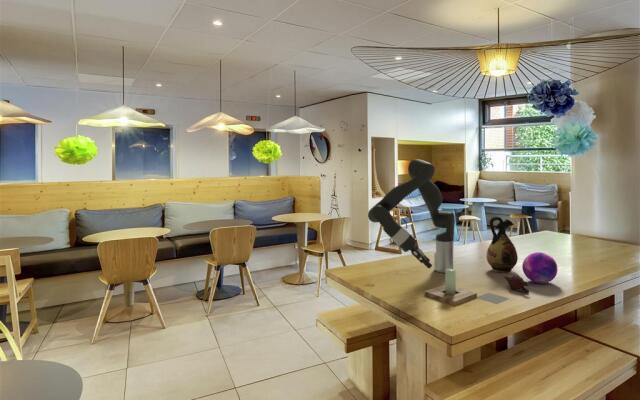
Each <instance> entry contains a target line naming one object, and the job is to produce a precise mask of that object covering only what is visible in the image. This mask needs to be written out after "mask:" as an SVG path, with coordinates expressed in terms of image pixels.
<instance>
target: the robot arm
mask: <svg viewBox="0 0 640 400" xmlns="http://www.w3.org/2000/svg"><path fill="white" fill-rule="evenodd" d="M407 168H408V169H407V170H408V171H407V172H408V174H409V177H410V178H411V179H410V180H408V181H406V182H404V183H401V184H399V185H397V186H395V187H393V188H391V190H389V192H387V193H386V194H385V195H384V196H383V198H382V199H381V200H379V201H378V202H377V203H376V204H375V205H373V207H371V208H370V209H369V211H368V212H367V218H368V220H369V221H370V222H372V223H374V224H375V223H379V224H380V225H381V226H382V230H383V232H384V233H385V234H386V235H387V236H388V237H389V238H390V239H391V240H392V241H393V242H394V243H395V244H396V245H397V246H398V247H399V249H401V250H402V251H403V252H404V253H407V252H409V251H410V254H411V255H412V256H413V257H415V258H416V260H418V262H420V264H423V265H424V266H425V267H426V268H427V269H431V268H432V267H433V265H434V267H433V268H434V269H433V270H435V272H439V273H444V274H445V270H446V269H454V240H455V239H454V237H455V225H456V224H455V223H456V221H455V220H456V217H455V214H454V212H453V211H445V210H444V211H443V210H439V209H440V207H441V205H442V204H443V195H442V193H441V191H440V189H439V187H438V186H437V185H436V184H435V183H434V182H433V181H432V180H431V179H432V178H433V176H434V174H435V166H434V165H433V164H432V163H430V162H428V161H425V160H422V159H419V158H418V159H417V158H416V159H415V158H414V159H412V160H411V161H410V162H409V163H408V167H407ZM416 190H418V192H419V193H420V195H421V198H422V200H423V202H424V203H425V205H426V208H427V210H428V212H429V215H430V218H431V221H432V224H433V225H434V227H436V228H441V229H445V231H444V232H442V233H438V234H436V236H435V253H434V254H433V255H434V262H433V263H434V264H432V263H431V262H430V261H431V259H430V258H429V257H427V255H425V253H424V252H423V250H422V249H421V248H420V247H419V246H418V245H417V244H416V243H417V239H416V238H415V237H414V236H413V235H411V234H410V233H409V231H408V230H407V229H406V228H404V227H403V226H401V225H400V224H399V223H398V221H396V220H395V218H394V217H393V216H392V214H391V213H390V211H392V210H393V209H395V208H396V207H397V206H398V205H399V204H400V203H401V202H403V200H404V199H405V198H406V197H407V196H409V195H410V194H412V193H413V192H415V191H416Z"/></svg>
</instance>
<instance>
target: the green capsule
mask: <svg viewBox="0 0 640 400" xmlns="http://www.w3.org/2000/svg"><path fill="white" fill-rule="evenodd" d="M444 274H445V275H444V276H445V278H444V279H445V280H444V281H445V284H444V285H445V294H449V295H455V294H456V287H457V285H456V284H457V283H456V282H457V281H456V280H457V279H456V278H457V271H456V269H455V268H453V269H446V270H445V273H444Z"/></svg>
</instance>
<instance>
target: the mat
mask: <svg viewBox="0 0 640 400" xmlns="http://www.w3.org/2000/svg"><path fill="white" fill-rule="evenodd" d="M476 299H479V300H483V301H486V302H489V303H493V304H495V305H499V304H500V303H504V302H505V301H507V300H510V298H509V297H506V296H501V295H498V294H494V293H492V292H487V293H484V294H481V295H477V297H476Z"/></svg>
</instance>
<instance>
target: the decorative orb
mask: <svg viewBox="0 0 640 400" xmlns="http://www.w3.org/2000/svg"><path fill="white" fill-rule="evenodd" d="M521 265H522V266H521V267H522V272H523V274H524V275H525V277H526V278H527V279H528V280H529V281H531V282H534V283H536V284H547V283H549V282H551V281H553V280H554V279H555V278H556V276H557V274H558V270H559V269H558V264H557V261H556V260H555V258H553V256H552V255H549V254H547V253H545V252H542V251H541V252H533V253H529V254H528V255H527V256H526V257H524V260H523V262H522V264H521Z"/></svg>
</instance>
